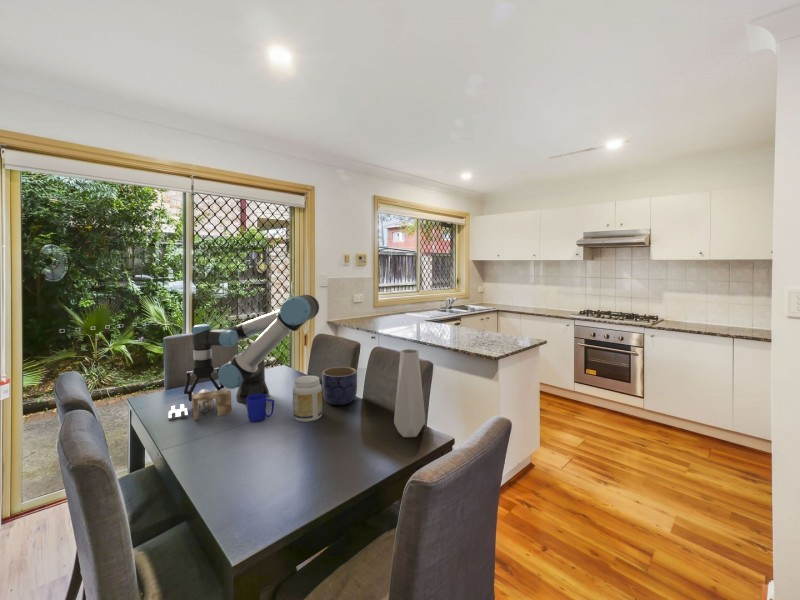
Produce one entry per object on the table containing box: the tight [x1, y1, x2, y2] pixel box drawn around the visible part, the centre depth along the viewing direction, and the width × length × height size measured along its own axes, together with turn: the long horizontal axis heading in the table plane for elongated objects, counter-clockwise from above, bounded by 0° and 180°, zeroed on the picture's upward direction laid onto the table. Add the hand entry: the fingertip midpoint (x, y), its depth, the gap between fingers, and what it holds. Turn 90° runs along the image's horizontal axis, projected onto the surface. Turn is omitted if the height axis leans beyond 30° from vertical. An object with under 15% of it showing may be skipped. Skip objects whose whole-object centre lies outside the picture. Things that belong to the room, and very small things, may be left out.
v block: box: [168, 403, 189, 421], centre depth 164 cm, size 7×9×3 cm
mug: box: [245, 394, 275, 423], centre depth 158 cm, size 8×12×10 cm
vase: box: [393, 348, 426, 438], centre depth 145 cm, size 12×12×33 cm
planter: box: [321, 366, 358, 406], centre depth 180 cm, size 16×16×15 cm
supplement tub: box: [292, 375, 323, 423], centre depth 162 cm, size 12×12×17 cm
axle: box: [197, 388, 215, 413], centre depth 174 cm, size 6×15×6 cm, turn 32°
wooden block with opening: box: [192, 388, 233, 421], centre depth 164 cm, size 14×6×10 cm, turn 121°
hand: (205, 405), depth 174 cm, fingers open, 9 cm apart
